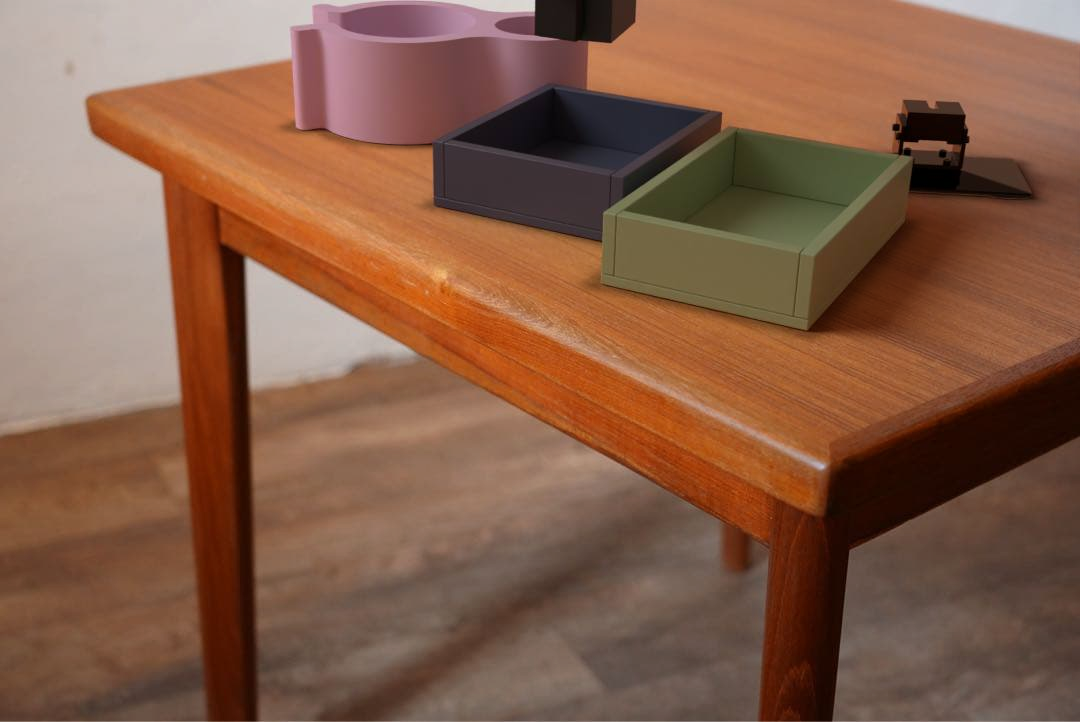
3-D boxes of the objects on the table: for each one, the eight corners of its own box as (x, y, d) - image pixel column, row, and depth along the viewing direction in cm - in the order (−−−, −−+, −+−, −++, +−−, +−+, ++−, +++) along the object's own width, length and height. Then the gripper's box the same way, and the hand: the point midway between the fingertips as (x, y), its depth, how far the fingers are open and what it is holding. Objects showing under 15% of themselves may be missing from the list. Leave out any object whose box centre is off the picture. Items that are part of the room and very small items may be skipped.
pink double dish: (589, 100, 108) (592, 7, 105) (578, 152, 97) (581, 50, 94) (326, 88, 109) (321, -4, 106) (285, 139, 98) (279, 38, 95)
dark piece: (1011, 164, 97) (1024, 96, 95) (1032, 202, 90) (1046, 130, 88) (824, 152, 98) (832, 85, 96) (831, 189, 91) (840, 118, 89)
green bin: (904, 222, 86) (913, 156, 84) (807, 331, 72) (815, 255, 70) (723, 188, 91) (728, 125, 89) (600, 283, 77) (602, 212, 75)
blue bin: (718, 173, 94) (722, 111, 92) (620, 245, 82) (623, 177, 80) (547, 141, 99) (548, 82, 97) (433, 205, 87) (432, 140, 86)
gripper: (614, -409, 85) (599, -12, 95) (441, -423, 70) (446, 51, 80) (734, -408, 82) (705, 2, 92) (580, -423, 66) (566, 71, 77)
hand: (585, 24), depth 86 cm, fingers closed on watch, 6 cm apart
